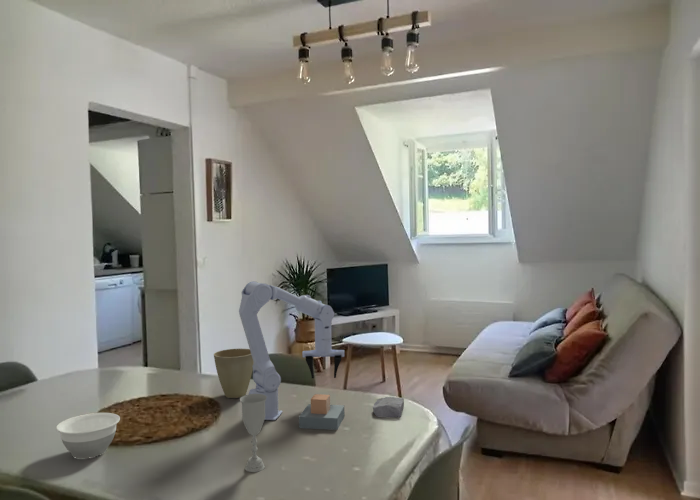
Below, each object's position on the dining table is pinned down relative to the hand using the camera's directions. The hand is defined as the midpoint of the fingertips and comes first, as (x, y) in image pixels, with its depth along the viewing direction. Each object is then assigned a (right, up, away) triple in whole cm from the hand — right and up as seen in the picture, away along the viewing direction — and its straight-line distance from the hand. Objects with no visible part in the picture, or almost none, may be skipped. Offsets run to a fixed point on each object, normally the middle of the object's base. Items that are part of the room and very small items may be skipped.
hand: (323, 377), depth 186 cm
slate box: (0, -11, -17) cm, 20 cm away
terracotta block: (0, -7, -17) cm, 18 cm away
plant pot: (-33, -10, +12) cm, 37 cm away
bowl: (-63, -12, -37) cm, 74 cm away
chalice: (-15, -12, -49) cm, 52 cm away
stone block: (+22, -10, -8) cm, 25 cm away
